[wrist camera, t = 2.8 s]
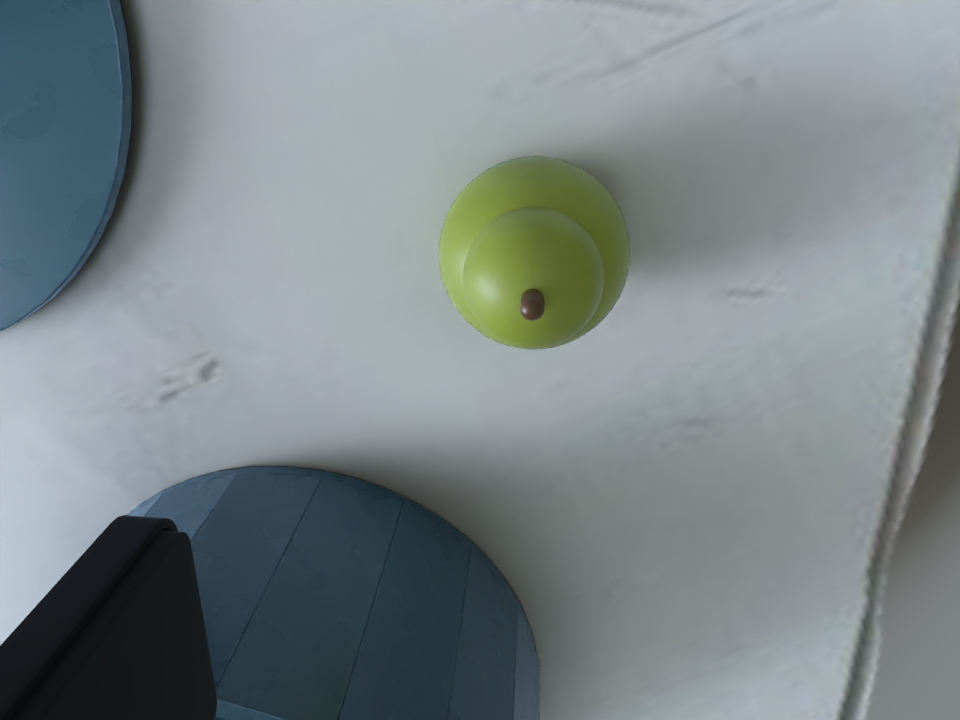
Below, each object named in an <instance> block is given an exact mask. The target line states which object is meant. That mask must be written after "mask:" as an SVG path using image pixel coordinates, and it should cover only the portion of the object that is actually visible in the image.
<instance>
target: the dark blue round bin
mask: <svg viewBox="0 0 960 720" xmlns="http://www.w3.org/2000/svg"><path fill="white" fill-rule="evenodd" d="M127 516H141V517H157V518H168V519H171V520H173V522H174V523H175V525H176V527H177V530H178V531H179V532H185V533H187V535H188V536H189V538H190V542H191V547H192V553H193V559H194V565H195V571H196V576H197V582H198V588H199V594H200V600H201V606H202V612H203V618H204V624H205V629H206V635H207V641H208V647H209V653H210V659H211V665H212V671H213V677H214V682H215V688H216V694H217V710H216V715H215V720H539V661H538V658H537V655H536V650H535V645H534V640H533V636H532V632H531V629H530V627H529V624H528V621H527V619H526V616H525V614H524V611H523V609H522V607H521V605H520V603H519V601H518V600H517V598H516V596H515V594H514V593H513V591H512V589H511V587H510V585H509V584H508V583H507V581H506V580H505V579H504V577H503V576H502V575H501V574H500V572H499V571H498V570H497V568H496V567H495V566H494V564H493V563H492V562H491V561H490V560H489V559H488V558H487V557H486V556H485V555H484V554H483V553H482V552H481V551H480V550H479V549H478V548H477V547H476V546H475V545H474V544H473V543H472V542H471V541H470V540H469V539H468V538H467V537H466V536H464V535H463V534H462V533H460V532H459V531H458V530H457V529H455V528H454V527H453V526H452V525H450V524H449V523H448V522H446V521H445V520H444V519H442V518H440V517H439V516H437V515H436V514H434V513H432V512H431V511H429V510H427V509H426V508H424V507H422V506H421V505H419V504H418V503H416V502H414V501H411V500H409V499H407V498H405V497H403V496H401V495H399V494H396V493H394V492H392V491H390V490H388V489H386V488H383V487H380V486H377V485H374V484H371V483H368V482H365V481H362V480H359V479H356V478H353V477H349V476H344V475H340V474H335V473H331V472H326V471H322V470H314V469H305V468H296V467H286V466H284V467H247V468H239V469H232V470H224V471H219V472H215V473H211V474H207V475H203V476H200V477H196V478H192V479H189V480H187V481H184V482H182V483H179V484H177V485H175V486H172V487H170V488H167V489H165V490H163V491H161V492H160V493H158V494H156V495H155V496H153V497H151V498H150V499H148V500H146V501H145V502H143V503H141V504H140V505H138V506H137V507H136V508H135V509H134V510H133V511H131V512H130V513H129V514H128V515H127Z"/></svg>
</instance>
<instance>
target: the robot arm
mask: <svg viewBox="0 0 960 720" xmlns="http://www.w3.org/2000/svg"><path fill="white" fill-rule="evenodd" d="M216 710H217V694H216V688H215V682H214V677H213V671H212V665H211V659H210V653H209V647H208V641H207V635H206V629H205V624H204V618H203V612H202V606H201V600H200V594H199V588H198V582H197V576H196V571H195V565H194V559H193V553H192V547H191V542H190V538H189V536H188V535H187V533H185V532H179V531H178V530H177V527H176V525H175V523H174V522H173V520H171V519H168V518H157V517H141V516H125V515H124V516H120V517H118V518H116V519H115V520H114V521H113V522H112V523H111V524H110V525H109V526H108V527H107V528H106V529H105V530H104V531H103V533H102V534H101V535H100V536H99V537H98V538H97V539H96V540H95V541H94V542H93V544H92V545H91V546H90V547H89V548H88V549H87V550H86V551H85V552H84V554H83V555H82V556H81V557H80V558H79V559H78V560H77V561H76V562H75V564H74V565H73V566H72V567H71V568H70V569H69V570H68V571H67V572H66V574H65V575H64V576H63V577H62V578H61V579H60V580H59V581H58V582H57V584H56V585H55V586H54V587H53V588H52V589H51V590H50V591H49V592H48V594H47V595H46V596H45V597H44V598H43V599H42V600H41V601H40V602H39V604H38V605H37V606H36V607H35V608H34V609H33V610H32V611H31V612H30V614H29V615H28V616H27V617H26V618H25V619H24V620H23V621H22V622H21V624H20V625H19V626H18V627H17V628H16V629H15V630H14V631H13V632H12V634H11V635H10V636H9V637H8V638H7V639H6V640H5V641H4V642H3V644H2V645H1V646H0V720H215V715H216Z"/></svg>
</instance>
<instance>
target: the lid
mask: <svg viewBox="0 0 960 720" xmlns="http://www.w3.org/2000/svg"><path fill="white" fill-rule="evenodd" d="M131 104H132V81H131V71H130V61H129V52H128V42H127V34H126V29H125V25H124V20H123V16H122V11H121V6H120V2H119V0H0V331H2V330H4V329H6V328H8V327H10V326H12V325H14V324H16V323H18V322H20V321H22V320H24V319H25V318H27V317H29V316H30V315H31V314H33V313H34V312H35V311H37V310H38V309H39V308H41V307H42V306H44V305H45V304H46V303H48V302H49V301H50V300H52V299H53V298H54V297H55V296H56V295H57V294H58V293H59V292H60V291H61V290H62V289H63V288H64V287H65V286H66V285H67V284H68V283H69V282H70V281H71V280H72V279H73V278H74V276H75V275H76V274H77V273H78V272H79V270H80V269H81V267H82V266H83V265H84V263H85V262H86V260H87V259H88V257H89V256H90V254H91V253H92V251H93V250H94V249H95V247H96V246H97V244H98V242H99V240H100V238H101V236H102V233H103V231H104V229H105V227H106V225H107V223H108V221H109V219H110V216H111V214H112V212H113V210H114V206H115V203H116V200H117V196H118V193H119V190H120V186H121V183H122V180H123V176H124V173H125V167H126V160H127V154H128V147H129V140H130V134H131Z"/></svg>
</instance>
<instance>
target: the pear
mask: <svg viewBox="0 0 960 720" xmlns="http://www.w3.org/2000/svg"><path fill="white" fill-rule="evenodd" d="M439 261H440V270H441V274H442V279H443V282H444V285H445V288H446V291H447V293H448V295H449V297H450V299H451V301H452V303H453V305H454V306H455V307H456V309H457V310H458V312H459V313H460V314H461V315H462V317H463V318H464V319H465V320H466V321H467V322H468V323H469V324H470V325H472V326H473V327H474V328H475V329H476V330H477V331H479V332H480V333H482V334H483V335H485V336H486V337H488V338H490V339H492V340H494V341H496V342H499V343H502V344H505V345H507V346H512V347H516V348H523V349H545V348H552V347H556V346H560V345H563V344H566V343H568V342H571V341H573V340H576V339H577V338H579V337H581V336H583V335H584V334H586V333H587V332H589V331H590V330H591V329H593V328H594V327H595V326H597V325H598V324H599V323H600V322H601V321H602V320H603V319H604V318H605V317H606V316H607V314H608V313H609V312H610V311H611V309H612V308H613V307H614V305H615V303H616V302H617V300H618V298H619V296H620V294H621V292H622V290H623V287H624V285H625V281H626V278H627V275H628V270H629V264H630V241H629V234H628V230H627V226H626V222H625V219H624V217H623V214H622V212H621V209H620V208H619V206H618V204H617V202H616V201H615V199H614V198H613V196H612V195H611V194H610V192H609V191H608V190H607V189H606V188H605V187H604V186H603V185H602V184H601V183H600V182H599V181H598V180H597V179H596V178H595V177H593V176H592V175H591V174H589V173H588V172H587V171H585V170H583V169H581V168H580V167H578V166H576V165H574V164H571V163H568V162H566V161H563V160H559V159H554V158H549V157H538V156H537V157H522V158H517V159H512V160H509V161H506V162H503V163H500V164H498V165H496V166H494V167H491V168H489V169H488V170H486V171H485V172H483V173H482V174H480V175H479V176H477V177H476V178H475V179H474V180H473V181H472V182H470V183H469V184H468V185H467V186H466V187H465V189H464V190H463V191H462V192H461V193H460V194H459V196H458V197H457V198H456V200H455V201H454V203H453V204H452V206H451V208H450V210H449V212H448V214H447V217H446V220H445V222H444V225H443V229H442V233H441V239H440V246H439Z"/></svg>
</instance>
